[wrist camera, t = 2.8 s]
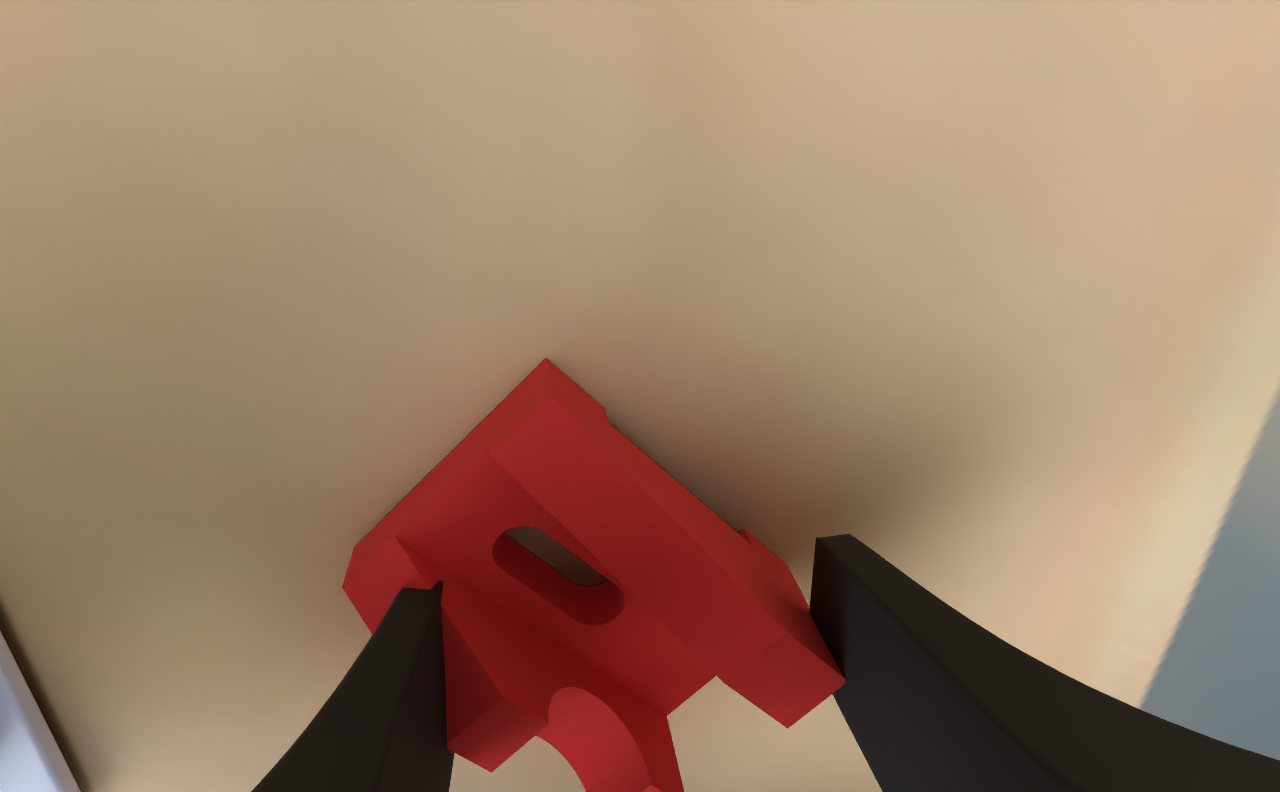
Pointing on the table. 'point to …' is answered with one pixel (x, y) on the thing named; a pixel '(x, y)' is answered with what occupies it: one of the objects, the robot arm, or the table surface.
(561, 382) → the bracket
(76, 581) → the table surface
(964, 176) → the table surface
